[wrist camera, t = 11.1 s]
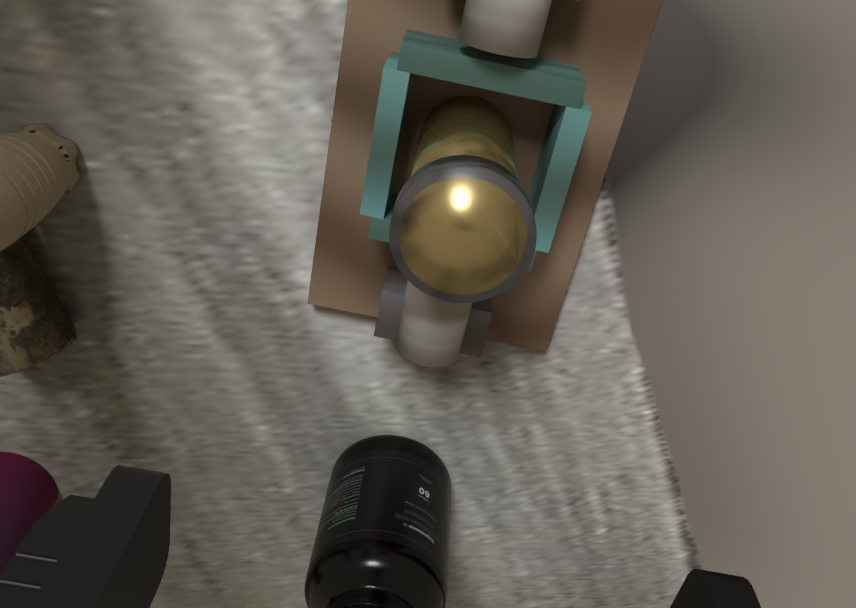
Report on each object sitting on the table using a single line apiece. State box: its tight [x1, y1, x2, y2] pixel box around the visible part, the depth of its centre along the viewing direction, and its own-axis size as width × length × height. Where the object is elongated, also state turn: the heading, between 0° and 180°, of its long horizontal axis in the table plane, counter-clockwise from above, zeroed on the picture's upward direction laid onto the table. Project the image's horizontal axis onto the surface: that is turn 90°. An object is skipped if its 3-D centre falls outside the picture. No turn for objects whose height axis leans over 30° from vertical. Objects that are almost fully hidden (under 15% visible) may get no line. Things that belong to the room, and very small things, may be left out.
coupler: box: [389, 96, 537, 303], centre depth 27 cm, size 5×5×10 cm
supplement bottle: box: [305, 435, 450, 608], centre depth 37 cm, size 7×7×12 cm
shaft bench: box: [308, 0, 663, 368], centre depth 30 cm, size 19×12×5 cm, turn 169°
